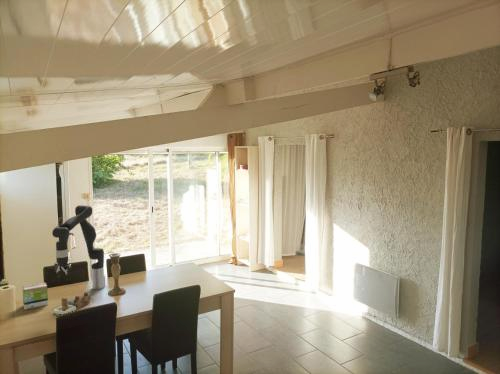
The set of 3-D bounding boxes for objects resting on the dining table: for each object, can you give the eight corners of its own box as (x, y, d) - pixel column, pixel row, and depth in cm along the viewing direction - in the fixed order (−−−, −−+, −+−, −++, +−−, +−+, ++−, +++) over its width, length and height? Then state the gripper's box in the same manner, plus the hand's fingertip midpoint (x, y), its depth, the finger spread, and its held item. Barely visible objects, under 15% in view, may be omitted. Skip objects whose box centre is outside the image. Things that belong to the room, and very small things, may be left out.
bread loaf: (65, 309, 257) (64, 297, 257) (69, 310, 256) (68, 297, 255) (60, 311, 254) (60, 299, 253) (64, 312, 253) (64, 299, 252)
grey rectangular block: (78, 301, 274) (78, 296, 274) (85, 302, 271) (85, 297, 271) (67, 306, 265) (67, 301, 264) (75, 307, 262) (74, 302, 262)
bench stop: (87, 301, 272) (86, 291, 272) (90, 302, 271) (89, 292, 270) (73, 307, 261) (73, 297, 261) (76, 308, 260) (76, 297, 259)
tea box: (24, 310, 258) (23, 290, 257) (23, 305, 266) (22, 286, 265) (48, 305, 267) (47, 285, 266) (46, 300, 275) (45, 281, 274)
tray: (66, 307, 262) (65, 304, 261) (76, 310, 258) (75, 306, 257) (53, 313, 252) (53, 309, 252) (64, 315, 248) (63, 311, 248)
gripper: (74, 255, 253) (75, 278, 254) (59, 253, 258) (60, 275, 260) (65, 258, 246) (66, 281, 247) (50, 256, 251) (51, 278, 253)
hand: (63, 278), depth 253 cm, fingers open, 8 cm apart
